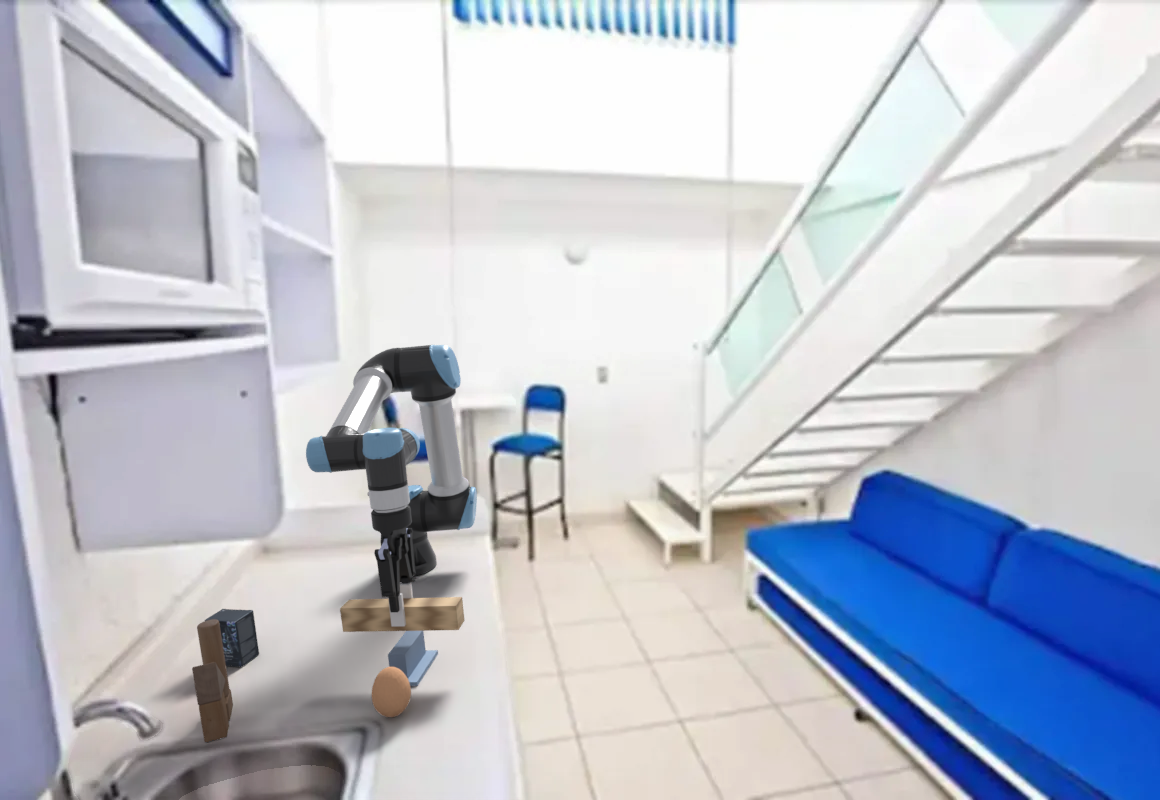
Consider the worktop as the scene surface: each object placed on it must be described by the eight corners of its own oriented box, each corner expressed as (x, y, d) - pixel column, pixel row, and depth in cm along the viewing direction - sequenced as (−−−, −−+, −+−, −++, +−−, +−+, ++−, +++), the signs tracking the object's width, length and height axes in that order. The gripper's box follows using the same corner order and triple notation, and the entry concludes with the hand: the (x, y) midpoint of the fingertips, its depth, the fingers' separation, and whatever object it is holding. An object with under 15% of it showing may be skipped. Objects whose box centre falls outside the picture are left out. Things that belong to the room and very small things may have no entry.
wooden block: (204, 744, 113) (188, 646, 111) (212, 711, 123) (197, 621, 121) (227, 737, 115) (212, 641, 112) (234, 705, 125) (220, 616, 122)
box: (210, 666, 140) (203, 619, 139) (230, 652, 146) (223, 607, 145) (241, 668, 139) (234, 621, 137) (260, 654, 144) (253, 609, 143)
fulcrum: (401, 654, 139) (398, 627, 139) (438, 653, 138) (435, 627, 138) (378, 686, 128) (374, 657, 127) (417, 686, 127) (414, 656, 126)
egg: (367, 717, 118) (361, 670, 117) (399, 699, 123) (394, 654, 121) (387, 731, 113) (381, 683, 112) (420, 711, 118) (415, 665, 117)
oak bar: (343, 631, 131) (339, 608, 131) (352, 622, 135) (349, 599, 135) (458, 630, 128) (456, 605, 128) (464, 620, 132) (462, 596, 132)
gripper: (389, 495, 137) (402, 601, 140) (352, 521, 121) (367, 641, 124) (424, 494, 137) (435, 601, 139) (391, 520, 120) (404, 640, 123)
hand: (403, 619), depth 132 cm, fingers closed on oak bar, 4 cm apart
